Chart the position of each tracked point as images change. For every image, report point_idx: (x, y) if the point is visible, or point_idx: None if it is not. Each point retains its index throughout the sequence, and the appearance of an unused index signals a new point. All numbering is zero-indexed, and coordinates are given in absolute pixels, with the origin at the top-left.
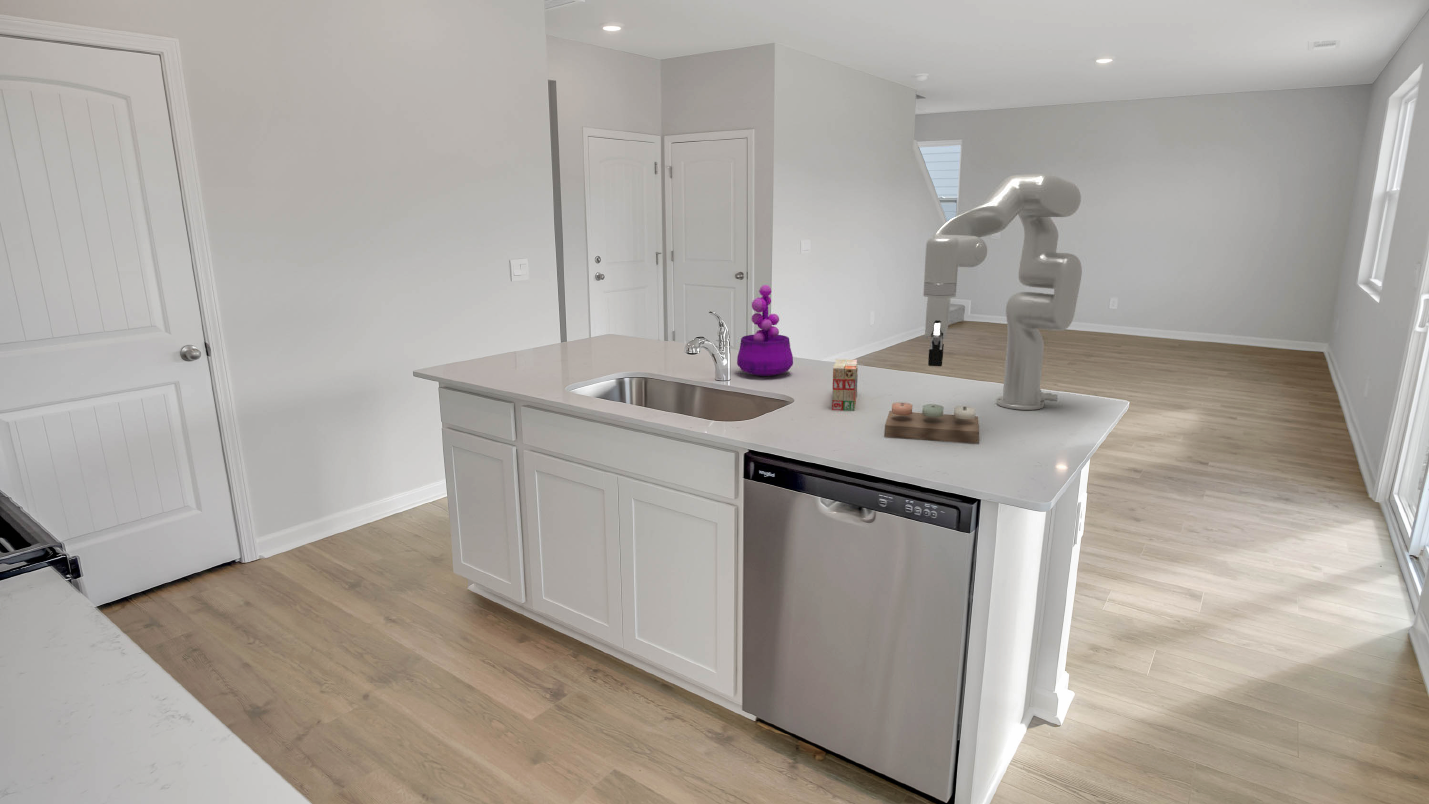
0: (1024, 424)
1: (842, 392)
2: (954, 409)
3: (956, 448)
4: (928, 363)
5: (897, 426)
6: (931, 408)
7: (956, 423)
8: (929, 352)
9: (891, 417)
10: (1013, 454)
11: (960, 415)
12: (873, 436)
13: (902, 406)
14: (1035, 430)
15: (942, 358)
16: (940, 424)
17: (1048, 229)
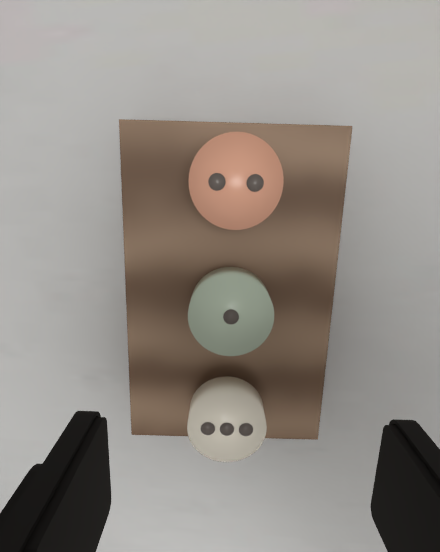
0: (366, 527)
1: None
2: (216, 392)
3: (76, 353)
4: (73, 421)
5: (122, 172)
6: (200, 310)
7: (211, 374)
8: (9, 526)
9: None
10: None
11: (191, 403)
12: (127, 85)
13: (206, 185)
14: (309, 544)
15: (380, 523)
16: (185, 324)
17: None
